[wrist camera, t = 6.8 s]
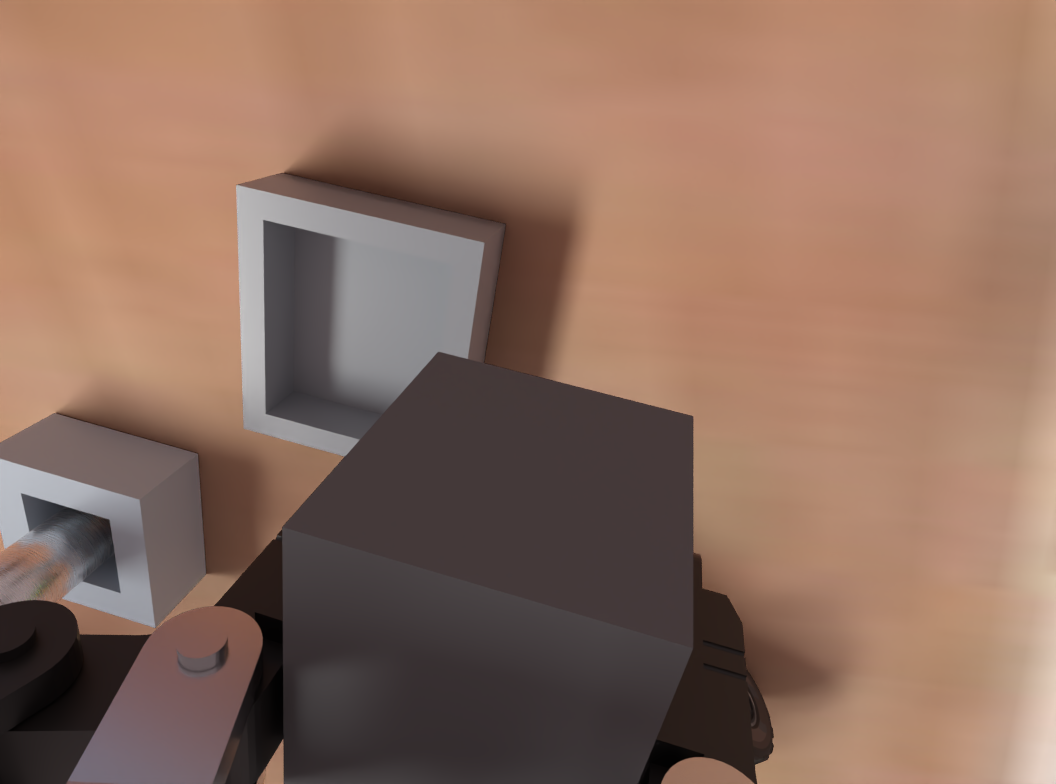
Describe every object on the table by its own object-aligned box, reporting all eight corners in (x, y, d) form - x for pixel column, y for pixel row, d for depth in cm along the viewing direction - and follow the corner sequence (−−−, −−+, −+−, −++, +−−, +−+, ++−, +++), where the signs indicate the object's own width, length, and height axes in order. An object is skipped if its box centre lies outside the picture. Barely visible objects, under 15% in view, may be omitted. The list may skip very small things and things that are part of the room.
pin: (163, 528, 36) (-111, 769, 24) (109, 512, 36) (-188, 741, 24) (158, 480, 34) (-137, 710, 22) (102, 464, 35) (-219, 681, 22)
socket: (206, 574, 37) (155, 627, 33) (76, 534, 38) (13, 583, 34) (197, 453, 33) (139, 499, 30) (54, 413, 34) (-20, 453, 30)
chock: (696, 416, 10) (699, 649, 6) (606, 685, 13) (567, 964, 9) (435, 350, 10) (277, 525, 6) (404, 623, 13) (280, 862, 9)
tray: (470, 447, 29) (449, 485, 27) (282, 397, 30) (243, 428, 28) (505, 223, 25) (484, 242, 22) (282, 173, 26) (236, 184, 23)
